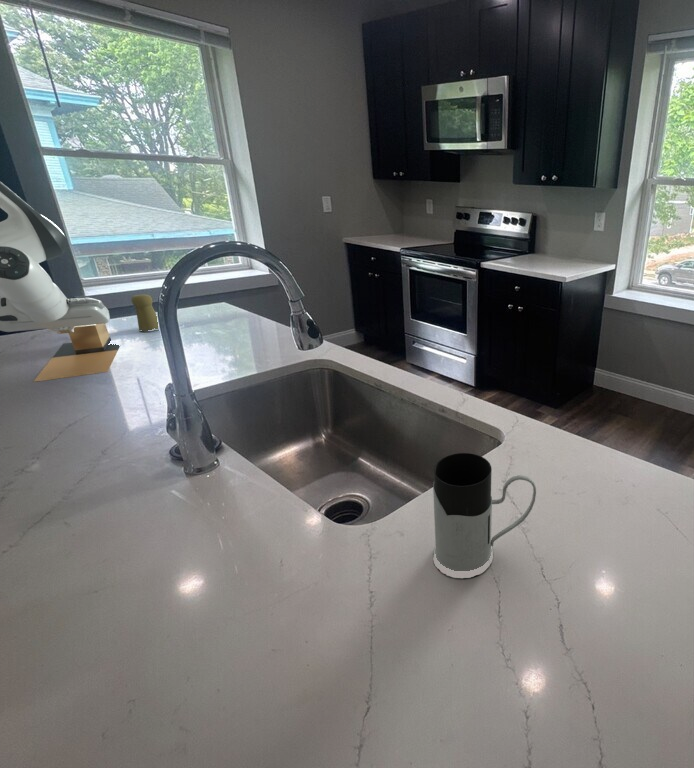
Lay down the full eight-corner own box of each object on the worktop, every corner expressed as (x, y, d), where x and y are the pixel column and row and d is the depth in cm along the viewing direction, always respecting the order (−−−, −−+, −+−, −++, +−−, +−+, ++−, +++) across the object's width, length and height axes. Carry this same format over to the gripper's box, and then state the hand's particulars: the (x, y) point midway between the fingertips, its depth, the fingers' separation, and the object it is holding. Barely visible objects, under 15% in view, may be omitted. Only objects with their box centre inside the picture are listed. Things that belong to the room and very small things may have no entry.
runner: (33, 382, 111) (33, 381, 111) (63, 344, 134) (63, 343, 134) (107, 372, 118) (107, 371, 118) (124, 337, 140) (124, 336, 140)
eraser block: (76, 354, 127) (66, 328, 124) (84, 342, 135) (75, 317, 132) (104, 351, 130) (95, 325, 127) (111, 339, 138) (102, 315, 134)
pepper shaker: (134, 331, 145) (122, 296, 141) (150, 325, 151) (140, 291, 146) (151, 333, 145) (140, 298, 140) (167, 327, 150) (157, 293, 145)
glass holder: (435, 533, 71) (432, 450, 64) (528, 532, 72) (534, 450, 65) (429, 579, 63) (425, 490, 56) (534, 578, 64) (541, 489, 57)
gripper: (98, 287, 112) (117, 315, 124) (-21, 294, 103) (11, 324, 114) (100, 310, 111) (119, 336, 122) (-21, 319, 101) (12, 347, 113)
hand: (66, 330), depth 118 cm, fingers closed
